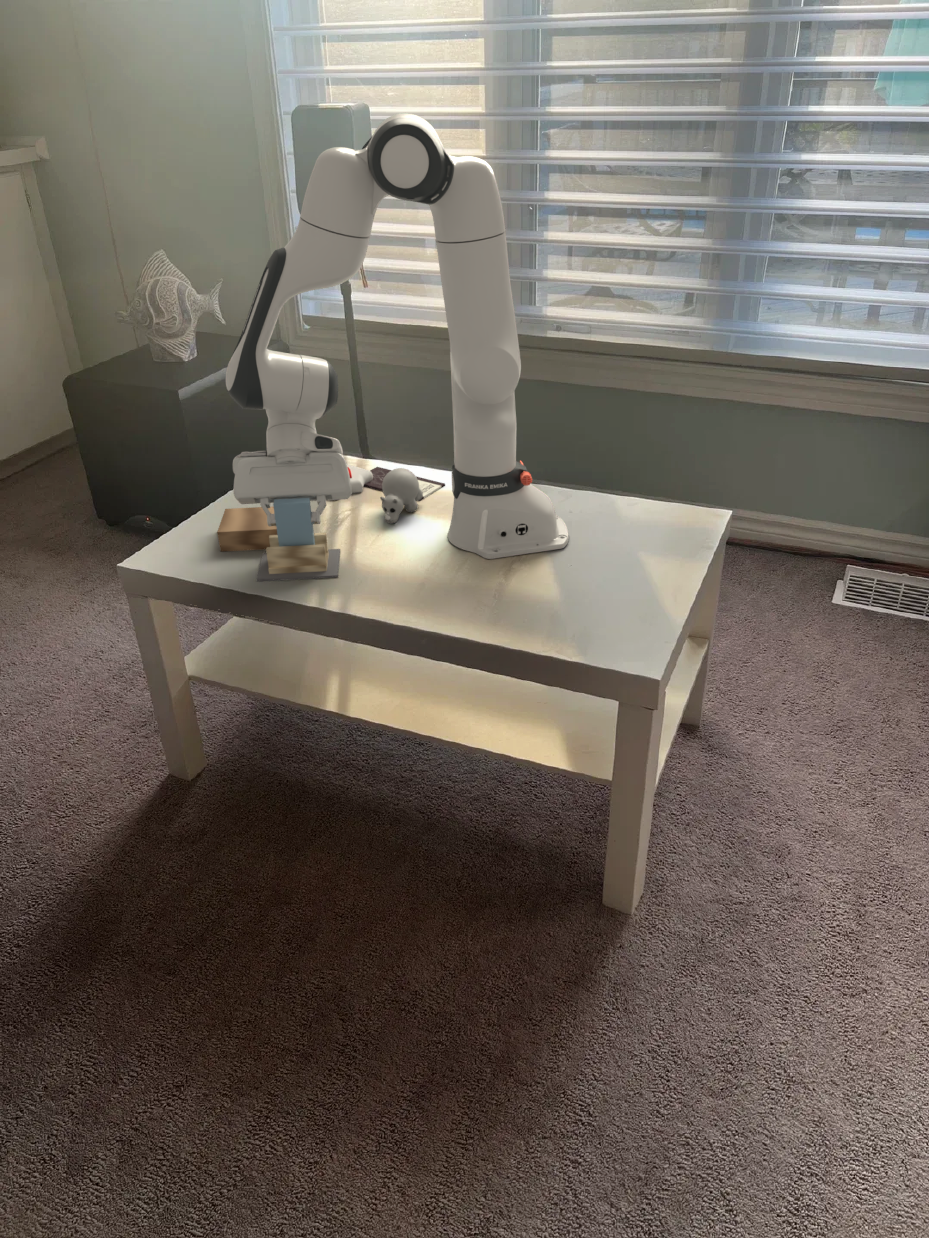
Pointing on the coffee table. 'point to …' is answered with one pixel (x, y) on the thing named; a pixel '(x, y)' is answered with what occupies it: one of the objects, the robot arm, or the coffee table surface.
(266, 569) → the mat
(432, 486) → the chocolate bar
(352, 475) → the icon
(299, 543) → the pale blue rectangular prism
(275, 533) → the block
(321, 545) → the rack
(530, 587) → the coffee table surface
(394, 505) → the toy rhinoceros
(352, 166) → the robot arm
